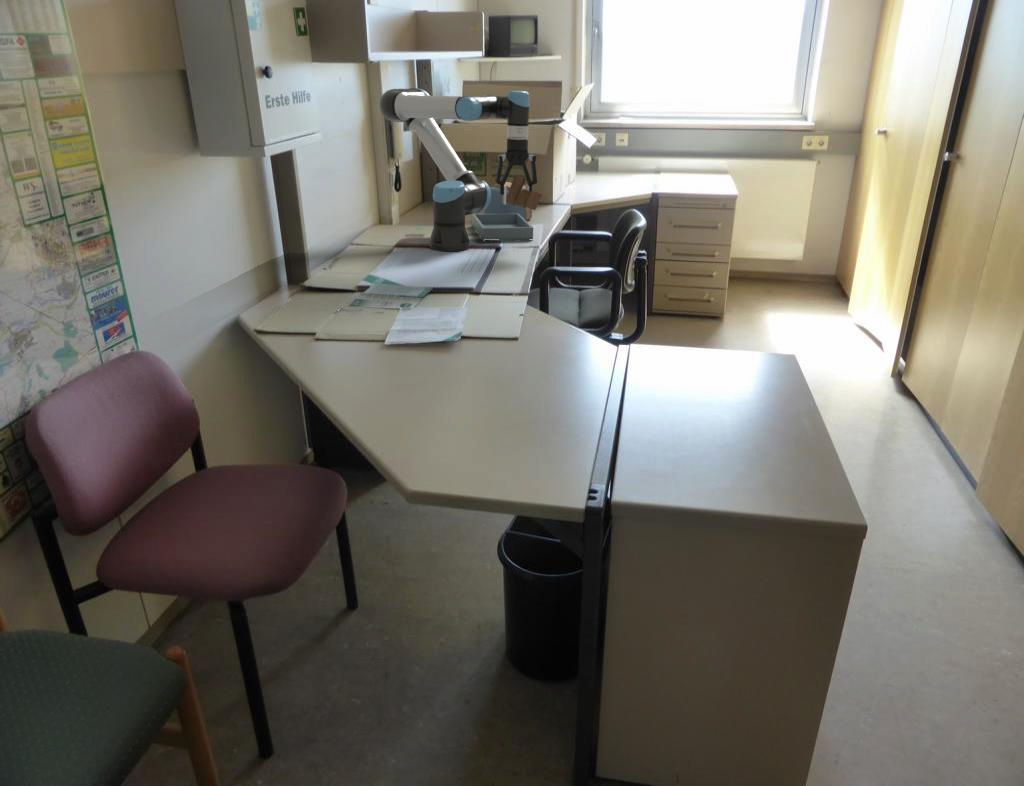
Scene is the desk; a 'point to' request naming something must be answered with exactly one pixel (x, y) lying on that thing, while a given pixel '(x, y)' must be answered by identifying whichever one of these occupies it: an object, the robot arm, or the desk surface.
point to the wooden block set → (522, 194)
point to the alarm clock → (500, 208)
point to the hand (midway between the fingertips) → (515, 203)
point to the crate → (502, 226)
